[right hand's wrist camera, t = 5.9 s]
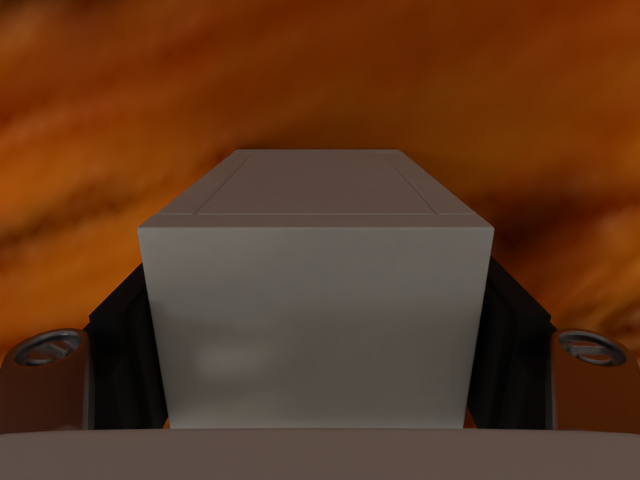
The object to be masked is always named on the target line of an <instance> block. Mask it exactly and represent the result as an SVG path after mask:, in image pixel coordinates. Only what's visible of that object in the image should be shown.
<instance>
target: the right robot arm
mask: <svg viewBox="0 0 640 480" xmlns="http://www.w3.org/2000/svg"><path fill="white" fill-rule="evenodd" d="M89 319H90V323H89V324H88V325H87V326H86V327H85V328H84V329H83V330H79V329H75V328H63V329H56V330H50V331H47V332H43V333H40V334H37V335H35V336H32V337H30V338H27V339H26V340H24V341H22V342H20V343H19V344H17V345H16V346H14V347H13V348H12V349H11V350H10V351H8V353H7V355H6V356H5V358H4V360H3V363H2V366H1V369H0V480H640V369H639V366H638V363H637V360H636V358H635V356H634V355H633V353H632V351H630V350H629V349H628V348H627V347H626V346H624V345H623V344H621V343H620V342H618V341H616V340H614V339H613V338H610V337H608V336H605V335H603V334H600V333H597V332H593V331H590V330H584V329H577V328H565V329H561V330H557V329H556V328H555V327H554V326H553V325H552V324H551V323H550V319H551V315H550V314H549V313H548V312H547V311H546V310H545V309H544V308H543V307H542V306H541V305H540V304H539V303H538V302H537V301H536V300H535V299H534V298H533V297H532V296H531V295H530V294H529V293H528V292H527V291H526V290H525V289H524V288H523V287H522V286H521V285H520V284H519V283H518V282H517V281H516V280H515V279H514V278H513V277H512V276H511V275H510V274H509V273H508V272H507V271H506V270H505V269H504V268H503V267H502V266H501V265H500V264H499V263H498V262H497V261H496V260H495V259H494V258H493V257H492V256H491V255H490V260H489V266H488V273H487V279H486V285H485V292H484V298H483V304H482V311H481V317H480V323H479V330H478V336H477V342H476V348H475V355H474V361H473V367H472V374H471V380H470V386H469V393H468V399H467V407H468V409H469V411H470V413H471V415H472V418H473V420H474V422H475V424H476V426H477V428H478V429H436V428H204V429H162V428H163V426H164V424H165V422H166V420H167V418H168V413H167V407H166V401H165V395H164V389H163V383H162V377H161V371H160V365H159V358H158V352H157V346H156V340H155V334H154V328H153V322H152V316H151V310H150V304H149V298H148V292H147V286H146V280H145V274H144V268H143V262H142V263H141V264H140V265H139V266H138V267H137V268H136V269H135V270H134V271H133V272H132V273H131V274H130V275H129V276H128V277H127V278H126V279H125V280H124V281H123V282H122V283H121V284H120V285H119V286H118V287H117V288H116V289H115V290H114V291H113V292H112V293H111V294H110V295H109V296H108V297H107V298H106V299H105V300H104V301H103V302H102V303H101V304H100V305H99V306H98V307H97V308H96V309H95V310H94V311H93V312H92V313H91V314H90V315H89Z"/></svg>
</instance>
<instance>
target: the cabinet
mask: <svg viewBox="0 0 640 480" xmlns="http://www.w3.org/2000/svg"><path fill="white" fill-rule="evenodd" d="M137 232H138V238H139V244H140V250H141V256H142V262H143V268H144V274H145V280H146V286H147V292H148V298H149V304H150V310H151V316H152V322H153V328H154V334H155V340H156V346H157V352H158V358H159V365H160V371H161V377H162V383H163V389H164V395H165V401H166V407H167V413H168V419H169V425H170V429H204V428H436V429H463V424H464V418H465V412H466V405H467V399H468V393H469V386H470V380H471V374H472V367H473V361H474V355H475V348H476V342H477V336H478V330H479V323H480V317H481V311H482V304H483V298H484V292H485V285H486V279H487V273H488V266H489V260H490V254H491V247H492V241H493V235H494V227H493V226H492V225H490V224H489V223H488V222H487V221H485V220H484V219H483V218H482V217H481V216H479V215H477V213H475V212H474V211H473V210H472V209H470V208H469V207H468V206H467V205H466V204H464V203H463V202H462V201H461V200H460V199H458V198H457V197H456V196H455V195H454V194H452V193H451V192H450V191H449V190H448V189H446V188H445V187H444V186H443V185H441V184H440V183H439V182H438V181H437V180H435V179H434V178H433V177H432V176H431V175H429V174H428V173H427V172H426V171H425V170H423V169H422V168H421V167H420V166H419V165H417V164H416V163H415V162H414V161H413V160H411V159H410V158H409V157H408V156H406V155H405V154H404V153H403V152H402V151H401V150H399V149H237V150H235V151H234V152H233V153H232V154H231V155H229V156H228V157H227V158H226V159H224V160H223V161H222V162H221V163H219V164H218V165H217V166H216V167H214V168H213V169H212V170H211V171H209V172H208V173H207V174H206V175H204V176H203V177H202V178H201V179H199V180H198V181H197V182H195V183H194V184H193V185H192V186H190V187H189V188H188V189H187V190H185V191H184V192H183V193H182V194H180V195H179V196H178V197H177V198H175V199H174V200H173V201H172V202H170V203H169V204H168V205H167V206H165V207H164V208H163V209H162V210H160V211H159V212H158V213H156V215H153V216H152V217H150V218H149V219H148V220H146V221H145V222H144V223H143V224H141V225H140V226H139V227H138V228H137Z"/></svg>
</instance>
